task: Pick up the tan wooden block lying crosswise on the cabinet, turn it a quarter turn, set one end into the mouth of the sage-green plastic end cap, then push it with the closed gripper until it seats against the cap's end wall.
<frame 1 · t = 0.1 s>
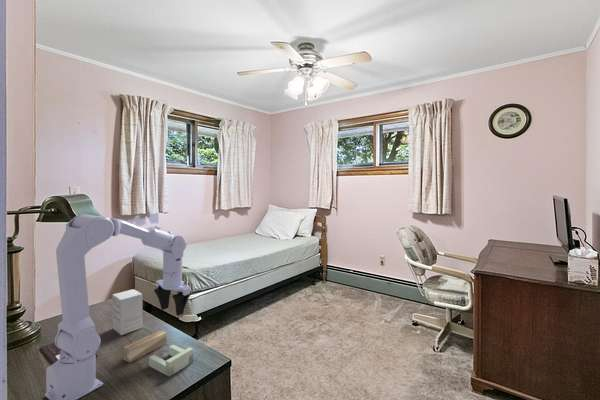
hand: (172, 311, 98), 10 cm above the cabinet, fingers open, 7 cm apart
supplement box: (127, 329, 105), on the cabinet
tan wooden block: (146, 351, 92), on the cabinet
chocolate bar: (68, 354, 90), on the cabinet
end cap: (171, 363, 86), on the cabinet
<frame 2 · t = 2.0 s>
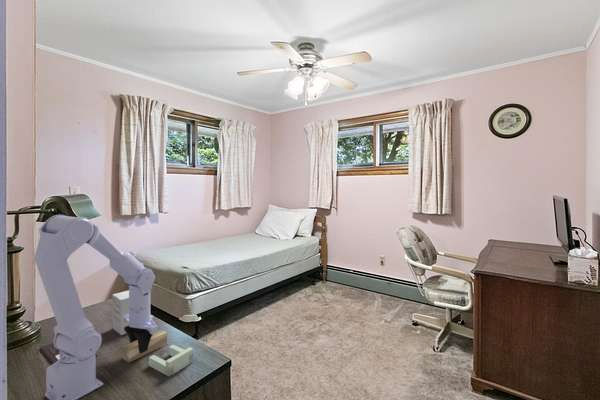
hand: (139, 349, 90), 1 cm above the cabinet, fingers closed on tan wooden block, 3 cm apart
tan wooden block: (146, 351, 92), on the cabinet, touching gripper
everything else where it was.
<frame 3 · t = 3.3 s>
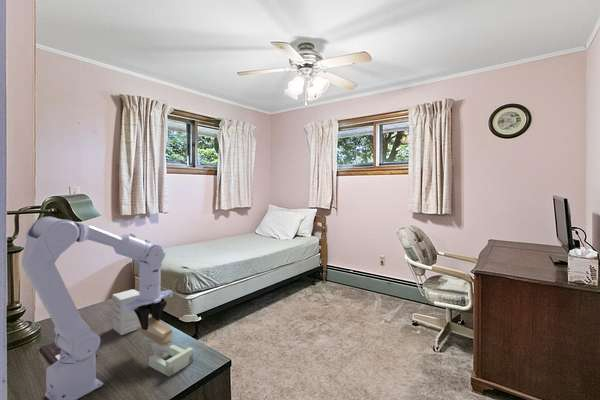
hand: (150, 326, 90), 8 cm above the cabinet, fingers closed on tan wooden block, 3 cm apart
tan wooden block: (153, 335, 90), point 6 cm above the cabinet, tilted 9°, touching gripper
everything else where it was.
when the fingers open (2 cm above the cabinet, at t = 4.7 s): tan wooden block stays where it is, on the cabinet.
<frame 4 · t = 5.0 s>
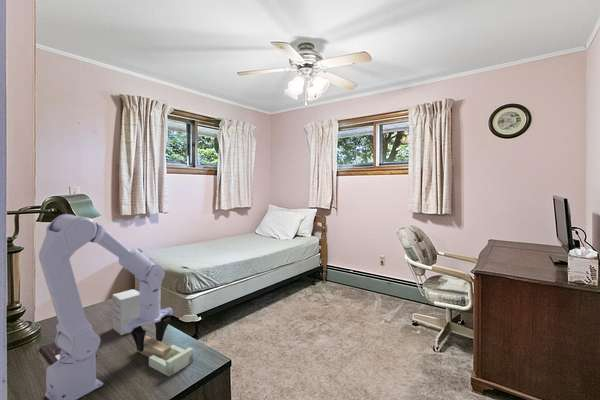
hand: (150, 345, 91), 2 cm above the cabinet, fingers open, 6 cm apart
tan wooden block: (153, 355, 90), on the cabinet
everything else where it was.
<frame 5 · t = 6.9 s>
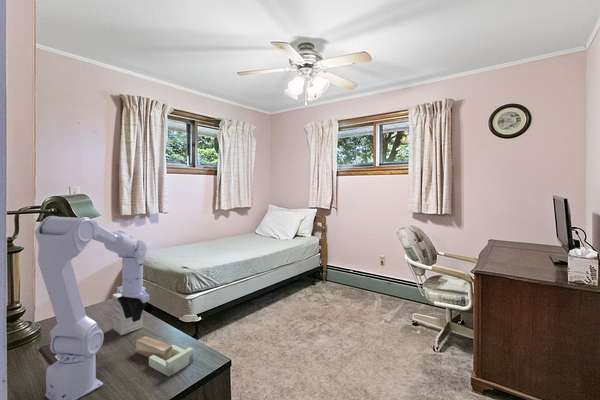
hand: (132, 319, 95), 8 cm above the cabinet, fingers open, 3 cm apart
nothing on the cabinet moved.
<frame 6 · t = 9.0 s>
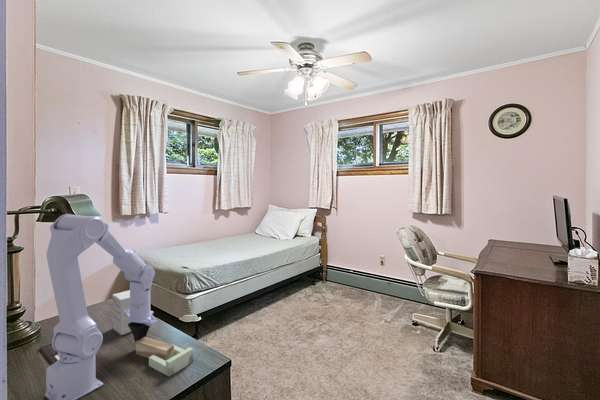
hand: (140, 343, 93), 1 cm above the cabinet, fingers closed
tan wooden block: (154, 356, 89), on the cabinet, touching gripper
everything else where it was.
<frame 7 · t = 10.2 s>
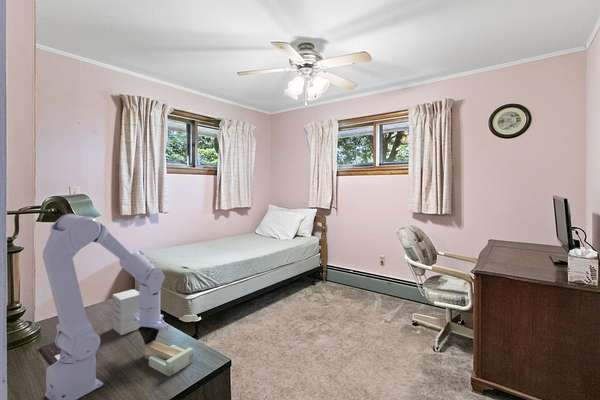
hand: (150, 348, 91), 1 cm above the cabinet, fingers closed
tan wooden block: (163, 361, 87), on the cabinet, touching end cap, gripper
everything else where it was.
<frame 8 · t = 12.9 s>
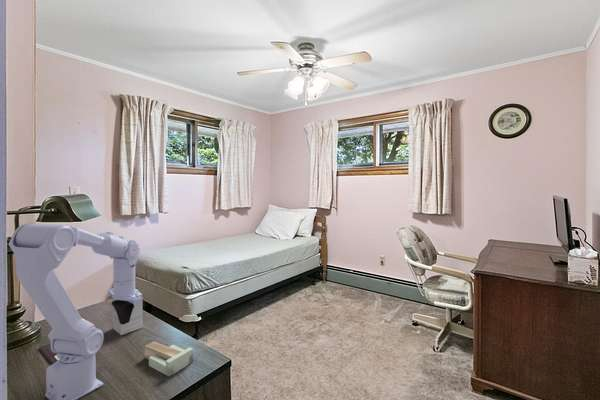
hand: (124, 322, 90), 9 cm above the cabinet, fingers closed
tan wooden block: (163, 362, 87), on the cabinet
everything else where it was.
at the end: tan wooden block 0.5 cm from the target spot on the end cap, point 0.0 cm above the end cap's base; tan wooden block tilted 0°; the gripper is holding nothing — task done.
